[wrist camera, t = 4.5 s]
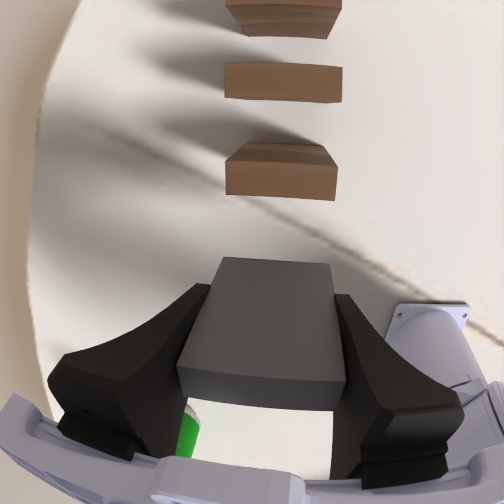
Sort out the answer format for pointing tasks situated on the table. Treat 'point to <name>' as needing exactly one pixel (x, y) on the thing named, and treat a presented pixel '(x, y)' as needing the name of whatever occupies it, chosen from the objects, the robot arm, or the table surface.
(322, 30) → the domino
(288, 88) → the domino
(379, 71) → the table surface
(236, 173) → the domino
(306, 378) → the domino
